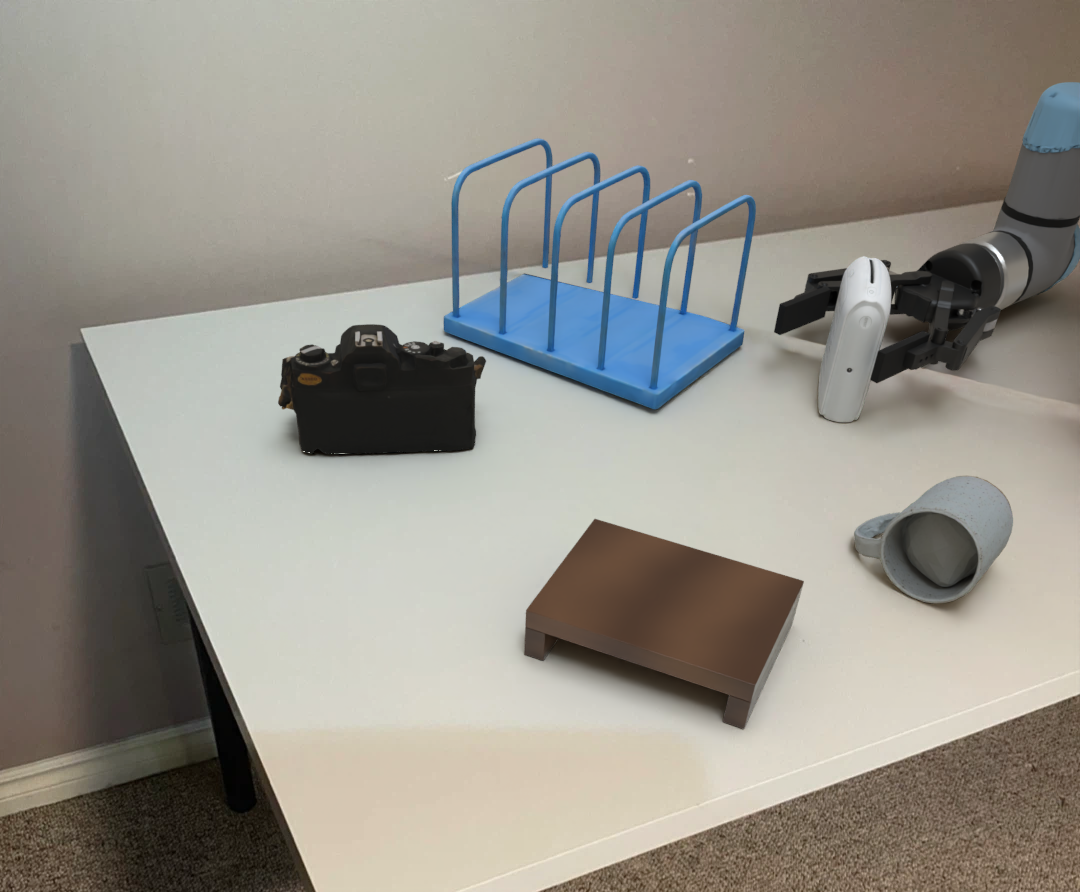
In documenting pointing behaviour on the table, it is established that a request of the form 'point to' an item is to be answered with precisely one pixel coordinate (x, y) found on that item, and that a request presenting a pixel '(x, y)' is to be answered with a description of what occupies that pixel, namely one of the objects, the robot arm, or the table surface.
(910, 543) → the ceramic mug
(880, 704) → the table surface
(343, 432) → the film camera
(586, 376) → the file sorter
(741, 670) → the shelf
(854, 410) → the photo printer
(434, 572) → the table surface
